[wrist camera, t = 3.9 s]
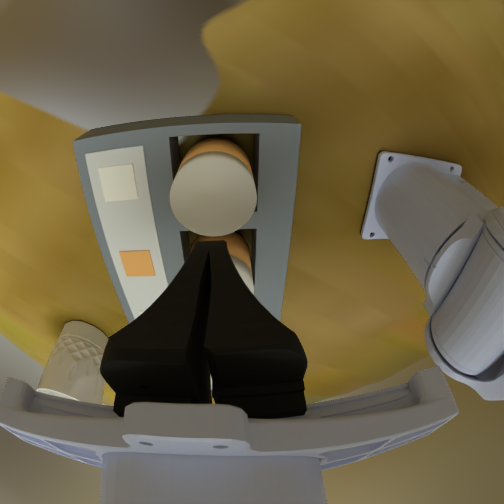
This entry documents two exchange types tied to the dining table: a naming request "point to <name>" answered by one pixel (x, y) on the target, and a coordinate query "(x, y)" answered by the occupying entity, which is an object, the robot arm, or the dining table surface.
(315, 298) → the dining table surface
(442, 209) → the robot arm
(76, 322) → the white cup
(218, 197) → the button
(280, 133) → the board
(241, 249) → the button
